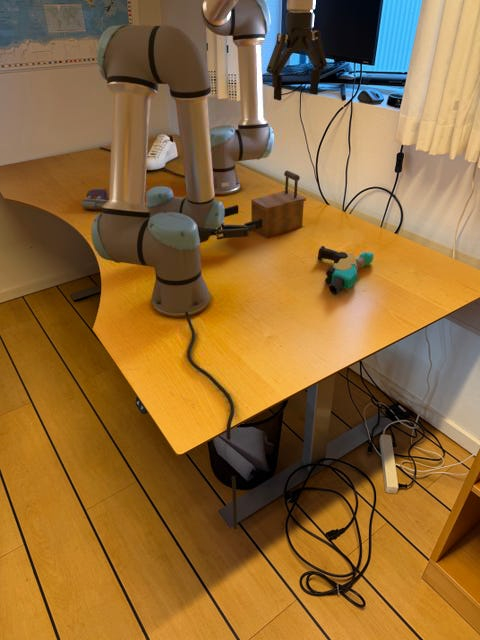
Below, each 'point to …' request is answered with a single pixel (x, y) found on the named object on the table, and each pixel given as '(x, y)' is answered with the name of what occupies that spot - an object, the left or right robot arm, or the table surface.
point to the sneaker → (161, 152)
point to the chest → (278, 219)
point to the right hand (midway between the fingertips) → (295, 96)
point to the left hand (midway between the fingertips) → (249, 215)
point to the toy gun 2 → (343, 268)
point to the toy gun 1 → (95, 199)
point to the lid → (281, 196)
